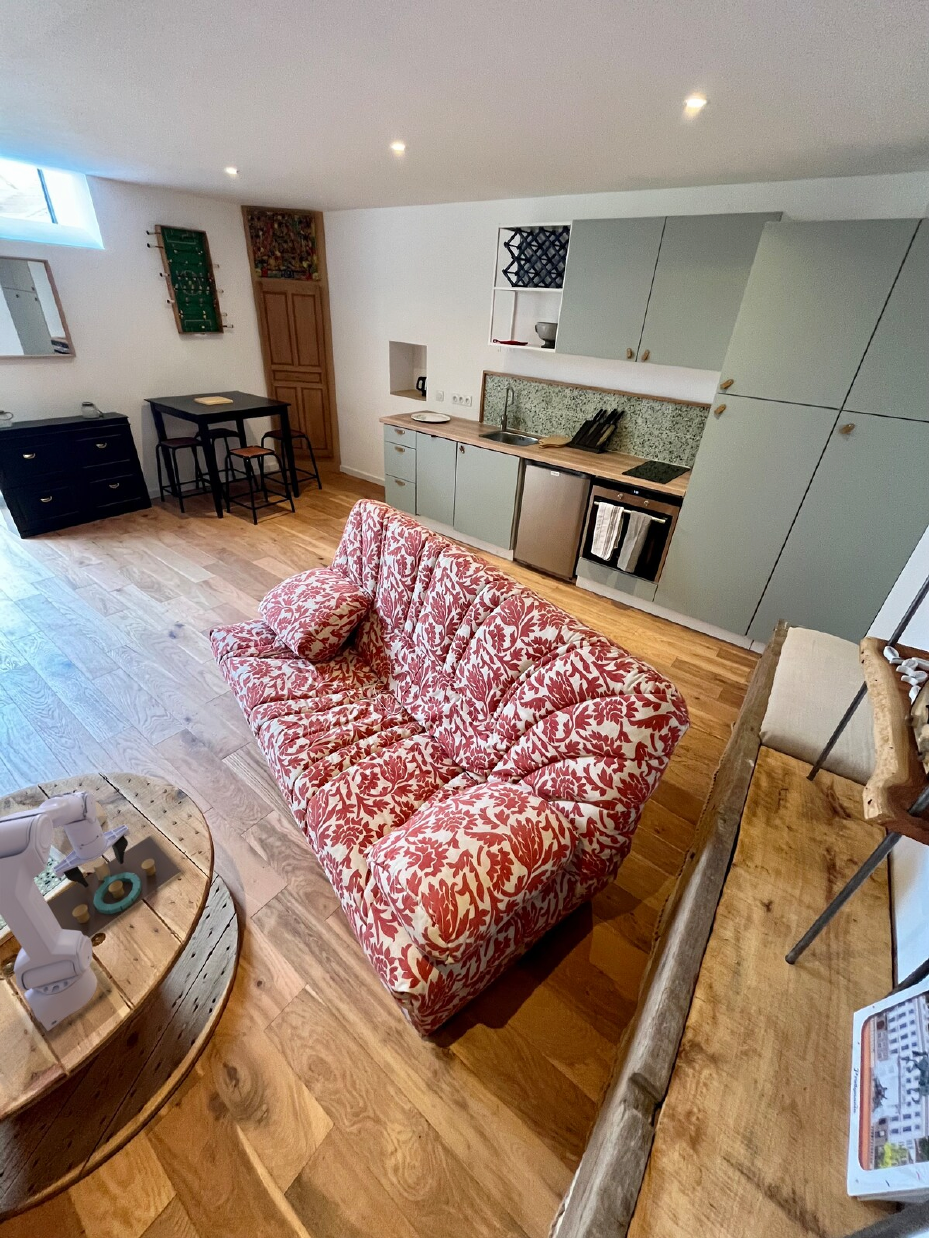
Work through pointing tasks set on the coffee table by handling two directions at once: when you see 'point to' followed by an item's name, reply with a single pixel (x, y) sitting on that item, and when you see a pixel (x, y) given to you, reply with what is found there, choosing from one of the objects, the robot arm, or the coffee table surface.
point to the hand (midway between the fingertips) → (103, 872)
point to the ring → (104, 874)
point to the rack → (113, 888)
